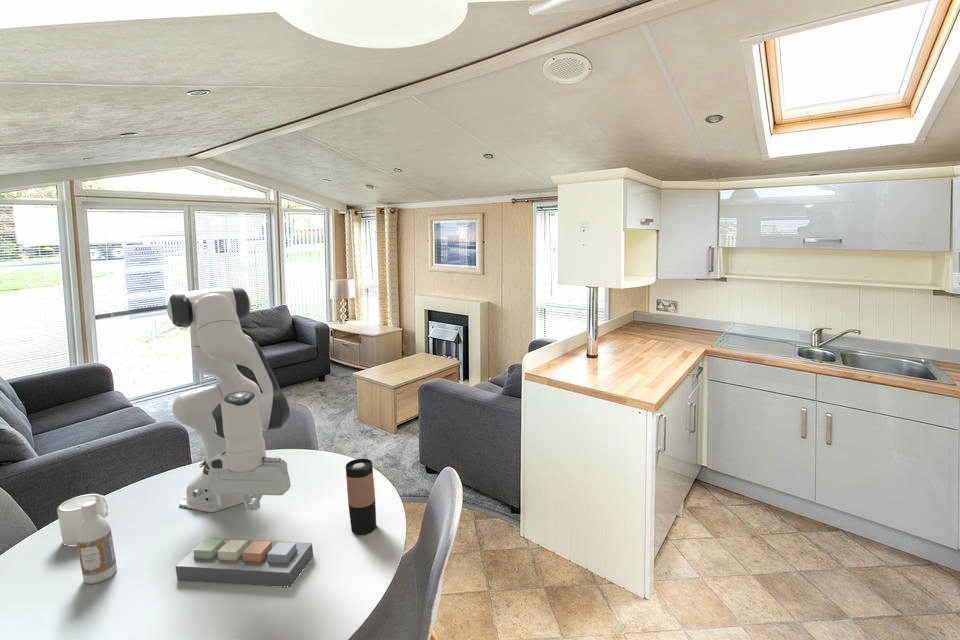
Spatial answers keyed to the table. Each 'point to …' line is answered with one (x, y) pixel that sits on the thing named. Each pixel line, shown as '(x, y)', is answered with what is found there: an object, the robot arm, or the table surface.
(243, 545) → the cream key
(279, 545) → the slate key
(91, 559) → the bath foam
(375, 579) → the table surface
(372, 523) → the travel mug
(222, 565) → the keypad
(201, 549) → the sage key
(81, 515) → the mug
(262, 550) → the terracotta key
